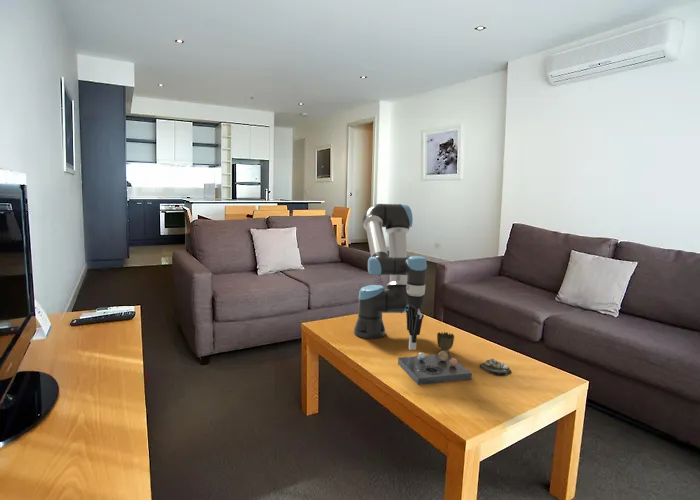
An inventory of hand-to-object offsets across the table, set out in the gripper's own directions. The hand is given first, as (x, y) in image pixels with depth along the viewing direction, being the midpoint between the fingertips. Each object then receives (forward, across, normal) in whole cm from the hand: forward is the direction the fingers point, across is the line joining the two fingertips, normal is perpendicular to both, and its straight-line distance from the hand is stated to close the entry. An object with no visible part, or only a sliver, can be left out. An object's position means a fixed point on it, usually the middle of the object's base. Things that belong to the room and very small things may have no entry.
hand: (412, 348), depth 176 cm
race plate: (+4, +14, +3) cm, 15 cm away
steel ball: (0, +9, 0) cm, 9 cm away
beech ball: (0, +11, +8) cm, 14 cm away
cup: (+4, -3, +17) cm, 18 cm away
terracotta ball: (0, +16, +10) cm, 19 cm away
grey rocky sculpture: (+5, +18, +28) cm, 34 cm away
